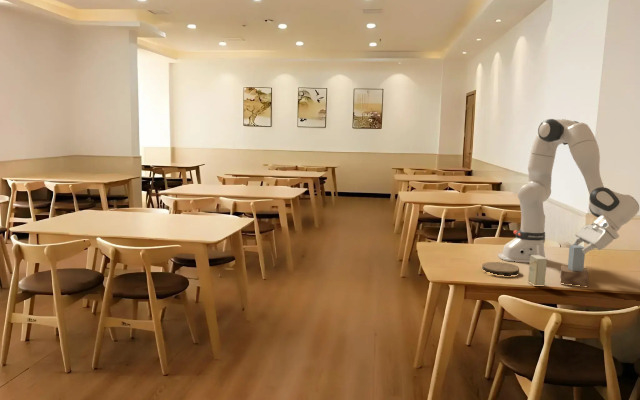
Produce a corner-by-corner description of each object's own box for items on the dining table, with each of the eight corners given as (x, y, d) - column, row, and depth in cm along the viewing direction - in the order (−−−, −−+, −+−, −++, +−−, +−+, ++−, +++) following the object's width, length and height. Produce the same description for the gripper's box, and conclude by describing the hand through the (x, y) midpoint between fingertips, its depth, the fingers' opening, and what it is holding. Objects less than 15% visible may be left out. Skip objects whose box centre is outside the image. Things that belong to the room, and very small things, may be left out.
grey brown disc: (516, 279, 218) (516, 273, 218) (478, 274, 226) (479, 268, 225) (521, 271, 232) (521, 264, 232) (485, 266, 240) (486, 260, 239)
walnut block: (560, 284, 211) (561, 271, 211) (560, 278, 220) (561, 265, 220) (587, 288, 207) (588, 274, 206) (585, 281, 216) (587, 268, 215)
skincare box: (527, 282, 213) (529, 254, 212) (537, 282, 214) (539, 254, 212) (535, 287, 207) (537, 258, 205) (545, 287, 207) (547, 258, 206)
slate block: (572, 270, 211) (574, 247, 209) (567, 268, 215) (569, 245, 214) (583, 271, 210) (585, 247, 209) (578, 268, 215) (580, 245, 214)
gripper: (587, 217, 220) (563, 238, 222) (610, 226, 200) (583, 249, 202) (597, 227, 220) (572, 249, 222) (621, 237, 200) (593, 260, 202)
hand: (577, 249), depth 212 cm, fingers open, 8 cm apart
